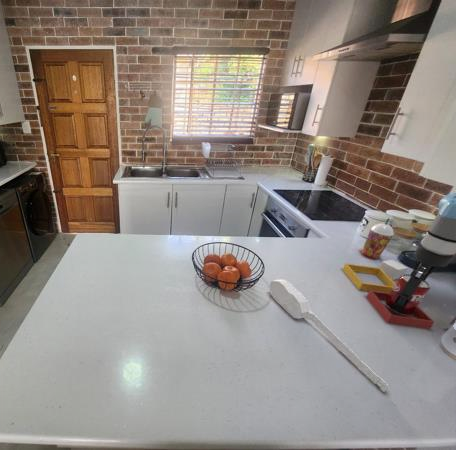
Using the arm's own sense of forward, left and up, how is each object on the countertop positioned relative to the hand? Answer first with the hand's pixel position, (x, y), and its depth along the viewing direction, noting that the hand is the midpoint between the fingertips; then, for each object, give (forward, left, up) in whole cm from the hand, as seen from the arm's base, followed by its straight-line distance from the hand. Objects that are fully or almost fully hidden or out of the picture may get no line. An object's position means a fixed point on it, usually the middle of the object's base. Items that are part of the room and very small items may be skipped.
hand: (399, 305), depth 84 cm
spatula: (+32, +16, -4) cm, 36 cm away
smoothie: (-13, -40, -4) cm, 42 cm away
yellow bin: (0, -17, -4) cm, 17 cm away
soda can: (0, 0, -1) cm, 1 cm away
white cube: (-12, -24, -4) cm, 27 cm away
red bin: (0, 0, -4) cm, 4 cm away
